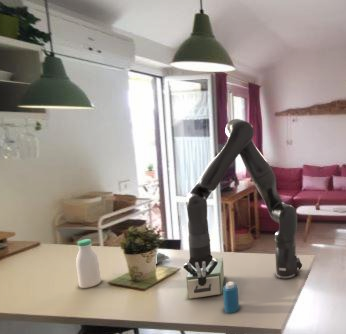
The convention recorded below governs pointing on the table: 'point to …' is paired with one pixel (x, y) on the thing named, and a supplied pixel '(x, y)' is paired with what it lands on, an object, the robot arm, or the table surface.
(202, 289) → the drawer
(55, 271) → the table surface
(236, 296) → the detergent bottle
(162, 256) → the packaged food
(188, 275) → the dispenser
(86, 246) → the milk bottle
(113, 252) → the table surface
